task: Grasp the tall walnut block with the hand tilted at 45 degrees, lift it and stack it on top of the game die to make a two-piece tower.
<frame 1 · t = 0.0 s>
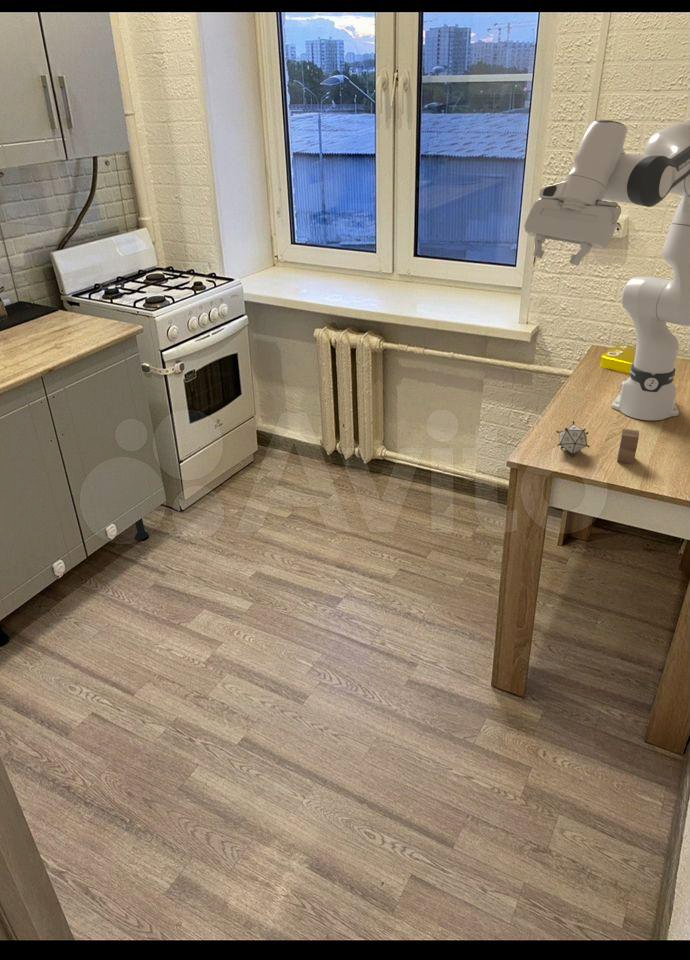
hand: (555, 260, 155), 54 cm above the table, tool tilted 30°, fingers open, 8 cm apart
walnut block: (625, 459, 188), on the table
game die: (570, 452, 192), on the table
element tile: (627, 366, 245), on the table
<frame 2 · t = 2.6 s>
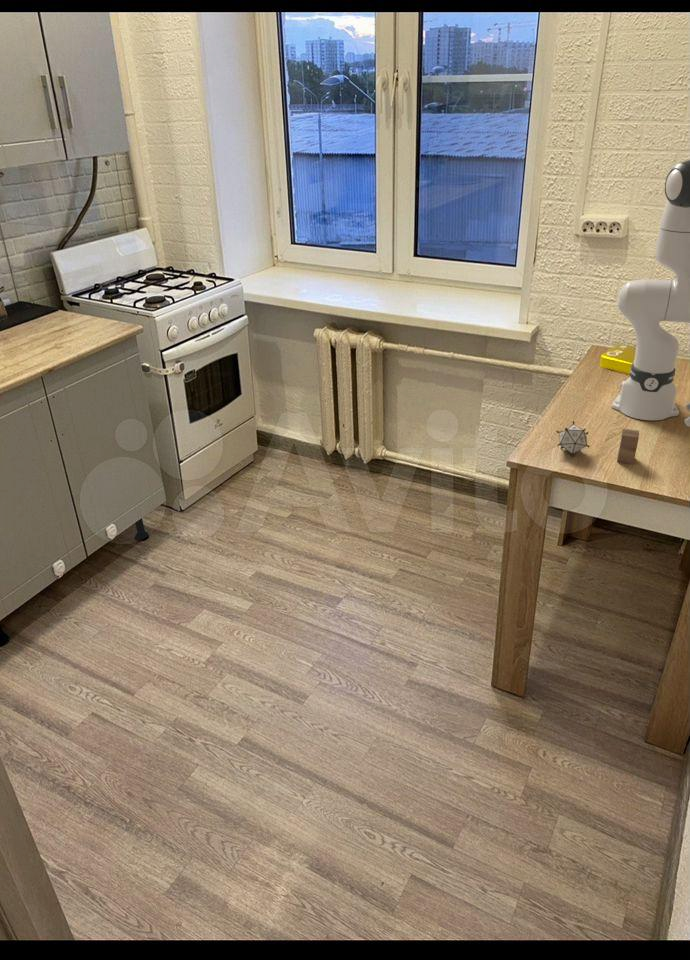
hand: (686, 415, 176), 15 cm above the table, tool tilted 45°, fingers open, 8 cm apart
nothing on the table moved.
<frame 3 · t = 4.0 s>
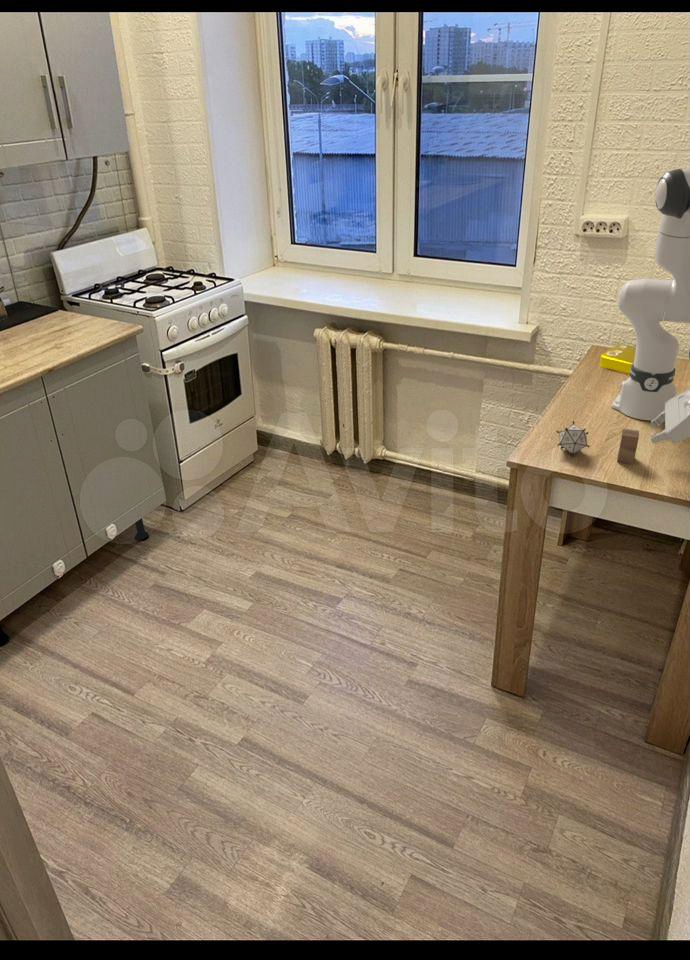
hand: (652, 432, 181), 9 cm above the table, tool tilted 45°, fingers open, 8 cm apart
nothing on the table moved.
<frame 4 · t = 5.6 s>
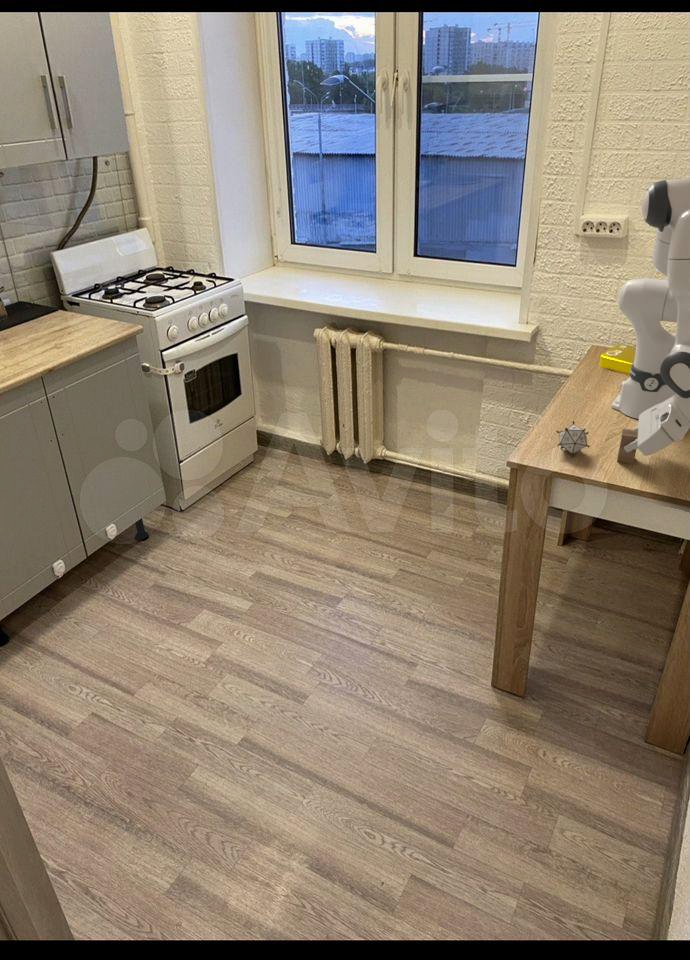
hand: (625, 444, 186), 4 cm above the table, tool tilted 45°, fingers closed on walnut block, 4 cm apart
walnut block: (625, 459, 188), on the table, touching gripper
everything else where it was.
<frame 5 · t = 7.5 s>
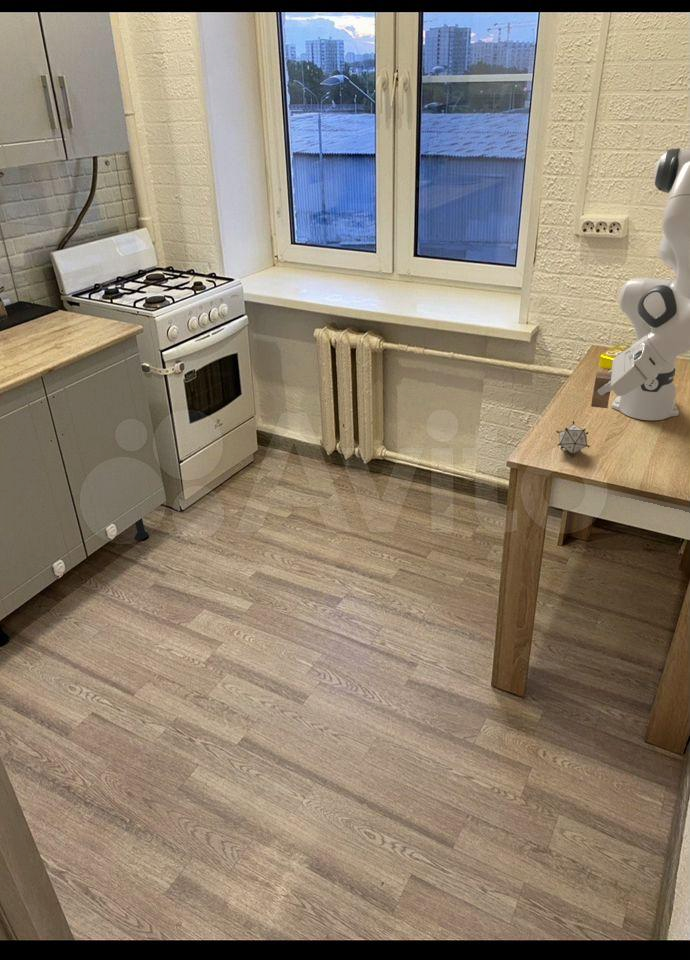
hand: (599, 388, 181), 19 cm above the table, tool tilted 45°, fingers closed on walnut block, 4 cm apart
walnut block: (599, 404, 183), point 15 cm above the table, touching gripper
everything else where it was.
when the fingers open (14 cm above the table, at t = 9.6 s): walnut block drops 1 cm, resting on game die.
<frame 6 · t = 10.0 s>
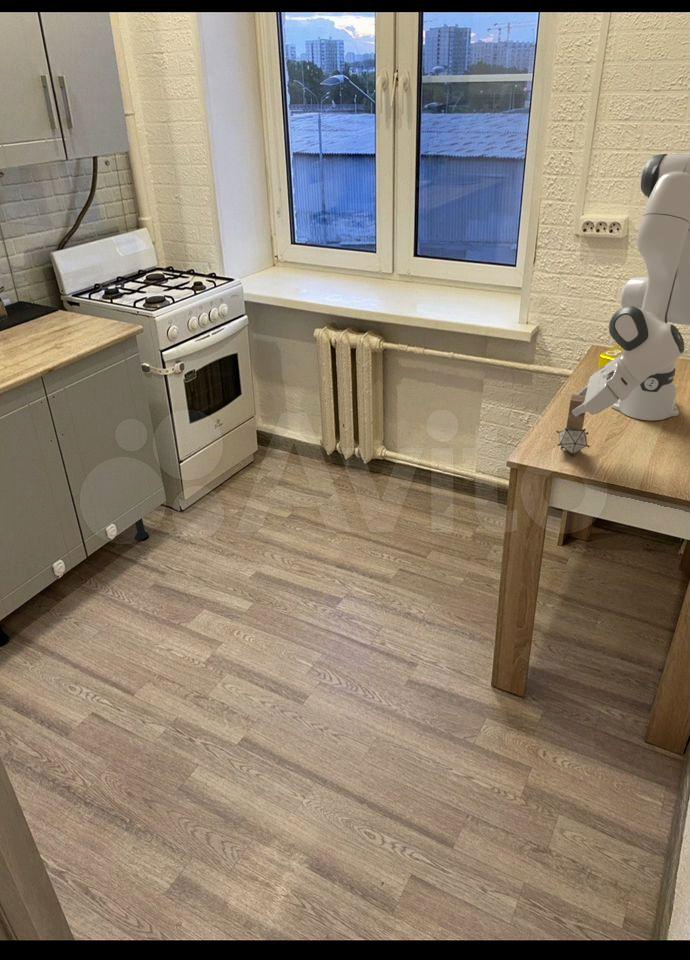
hand: (575, 406, 186), 14 cm above the table, tool tilted 45°, fingers open, 8 cm apart
walnut block: (574, 425, 188), point 8 cm above the table, touching game die
game die: (570, 452, 192), on the table, touching walnut block
everything else where it was.
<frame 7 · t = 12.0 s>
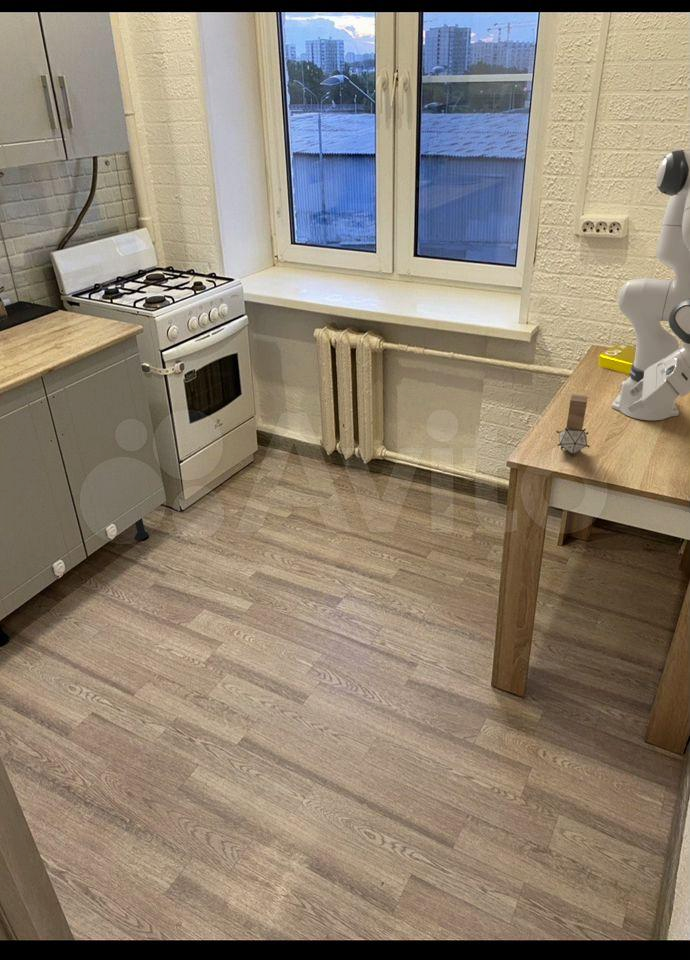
hand: (630, 401, 180), 17 cm above the table, tool tilted 45°, fingers open, 8 cm apart
nothing on the table moved.
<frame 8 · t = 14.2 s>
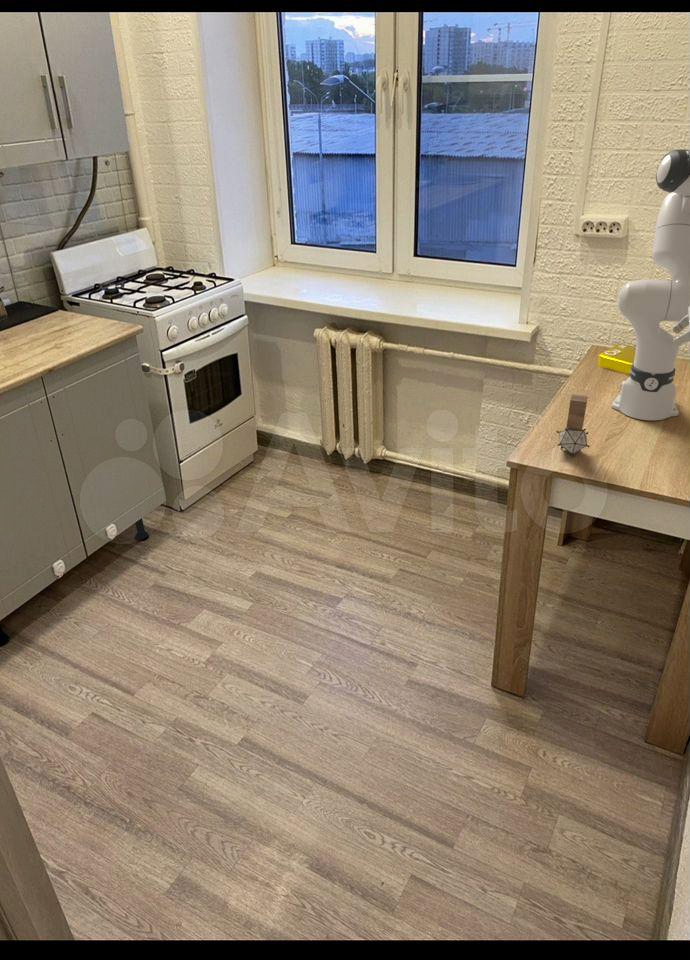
hand: (674, 337, 168), 34 cm above the table, tool tilted 45°, fingers open, 8 cm apart
nothing on the table moved.
at the end: walnut block inside the target area on the game die (0.1 cm from its centre), point 8.2 cm above the game die's base; walnut block tilted 0°; the gripper is holding nothing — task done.
